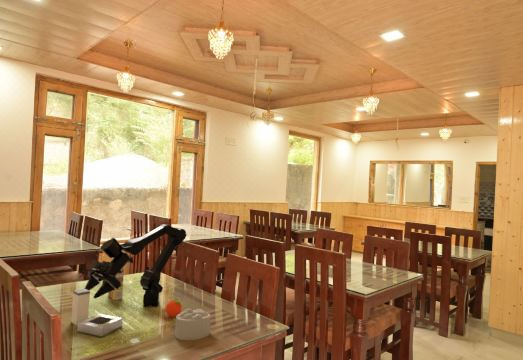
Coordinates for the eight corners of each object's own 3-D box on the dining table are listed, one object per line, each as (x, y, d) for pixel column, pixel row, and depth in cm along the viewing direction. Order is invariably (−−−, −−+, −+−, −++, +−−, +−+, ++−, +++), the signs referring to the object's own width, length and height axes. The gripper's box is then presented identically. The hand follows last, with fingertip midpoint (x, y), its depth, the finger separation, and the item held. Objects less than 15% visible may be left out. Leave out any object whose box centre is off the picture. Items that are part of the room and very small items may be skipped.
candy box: (122, 299, 172) (124, 267, 173) (114, 300, 169) (116, 268, 170) (115, 294, 179) (117, 263, 179) (107, 295, 176) (109, 264, 176)
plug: (82, 319, 145) (84, 288, 145) (87, 322, 142) (89, 291, 142) (71, 322, 141) (73, 290, 142) (76, 325, 138) (78, 293, 139)
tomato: (186, 315, 155) (187, 299, 155) (178, 321, 149) (179, 304, 149) (170, 312, 157) (171, 296, 158) (161, 318, 151) (162, 301, 151)
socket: (99, 322, 142) (99, 313, 142) (121, 326, 139) (122, 318, 139) (77, 332, 132) (78, 323, 132) (101, 337, 129) (102, 328, 129)
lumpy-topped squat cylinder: (212, 335, 137) (214, 312, 137) (182, 343, 128) (184, 319, 128) (198, 326, 144) (200, 304, 145) (169, 333, 136) (170, 310, 136)
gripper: (94, 249, 155) (65, 278, 146) (115, 256, 143) (86, 288, 134) (110, 265, 160) (83, 294, 152) (132, 273, 149) (104, 305, 140)
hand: (88, 295), depth 144 cm, fingers open, 9 cm apart
